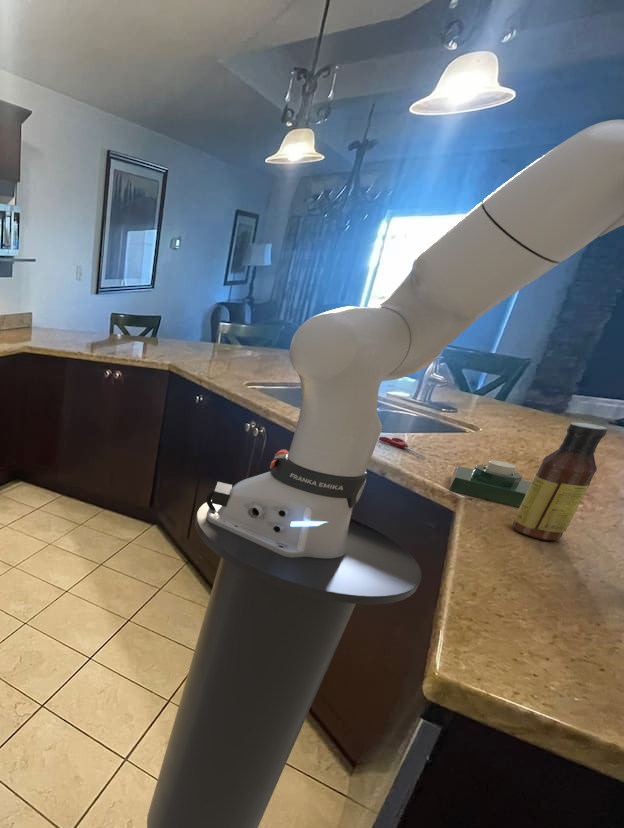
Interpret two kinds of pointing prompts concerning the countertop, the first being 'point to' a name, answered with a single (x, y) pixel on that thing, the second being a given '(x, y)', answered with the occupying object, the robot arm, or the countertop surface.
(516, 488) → the base
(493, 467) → the white short cylinder
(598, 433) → the sauce bottle
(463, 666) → the countertop surface
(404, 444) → the scissors
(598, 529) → the countertop surface
